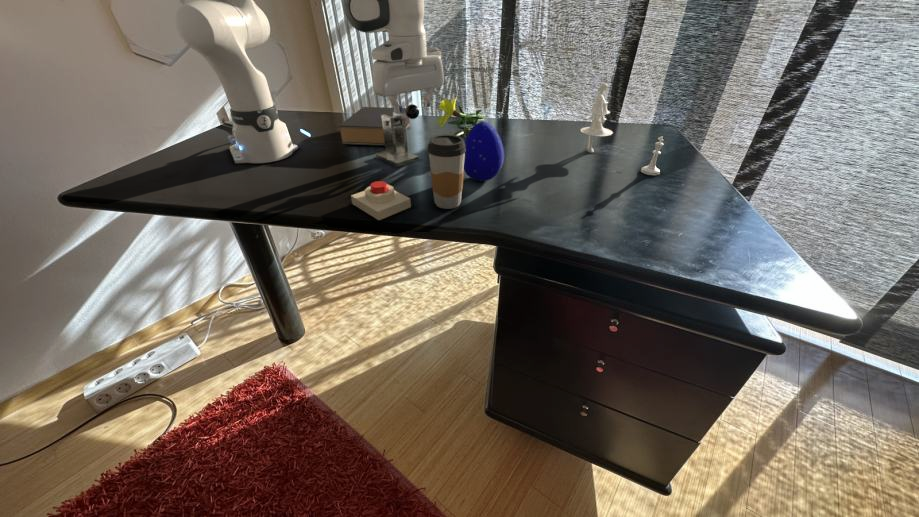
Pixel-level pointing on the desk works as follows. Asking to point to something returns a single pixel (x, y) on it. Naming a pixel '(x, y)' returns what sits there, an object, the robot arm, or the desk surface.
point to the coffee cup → (447, 169)
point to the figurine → (597, 118)
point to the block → (381, 202)
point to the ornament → (483, 152)
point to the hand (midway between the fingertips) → (412, 109)
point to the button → (378, 187)
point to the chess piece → (653, 160)
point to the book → (366, 126)
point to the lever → (407, 114)
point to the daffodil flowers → (466, 118)
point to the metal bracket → (395, 143)
